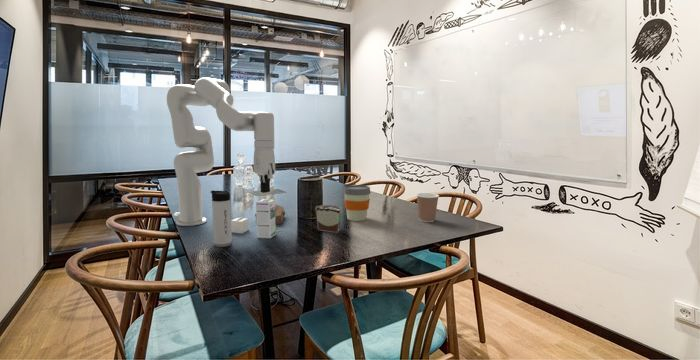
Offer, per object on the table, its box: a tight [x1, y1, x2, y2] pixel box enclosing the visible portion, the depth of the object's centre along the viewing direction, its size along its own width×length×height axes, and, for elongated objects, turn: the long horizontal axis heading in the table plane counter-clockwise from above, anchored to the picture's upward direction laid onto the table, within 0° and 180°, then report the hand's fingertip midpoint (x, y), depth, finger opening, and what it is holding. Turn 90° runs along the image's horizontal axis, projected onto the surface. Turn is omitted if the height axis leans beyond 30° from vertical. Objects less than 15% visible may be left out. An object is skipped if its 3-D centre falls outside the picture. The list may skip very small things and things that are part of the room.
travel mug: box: [210, 189, 233, 248], centre depth 138 cm, size 6×7×20 cm
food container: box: [314, 204, 343, 234], centre depth 159 cm, size 12×6×10 cm, turn 65°
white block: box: [231, 217, 250, 234], centre depth 156 cm, size 5×5×5 cm
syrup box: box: [255, 198, 277, 239], centre depth 149 cm, size 6×6×14 cm
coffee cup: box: [416, 192, 440, 223], centre depth 176 cm, size 10×10×12 cm
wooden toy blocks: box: [255, 203, 286, 225], centre depth 174 cm, size 8×13×18 cm
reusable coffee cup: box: [343, 184, 371, 222], centre depth 179 cm, size 13×13×15 cm
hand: (265, 192), depth 148 cm, fingers closed
